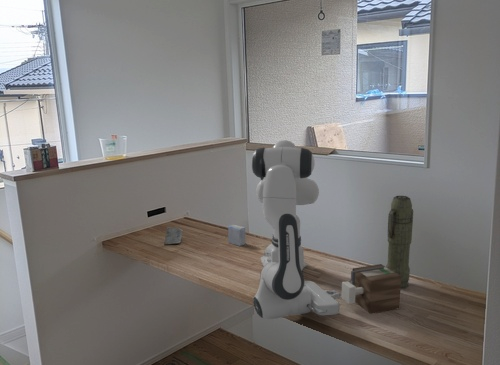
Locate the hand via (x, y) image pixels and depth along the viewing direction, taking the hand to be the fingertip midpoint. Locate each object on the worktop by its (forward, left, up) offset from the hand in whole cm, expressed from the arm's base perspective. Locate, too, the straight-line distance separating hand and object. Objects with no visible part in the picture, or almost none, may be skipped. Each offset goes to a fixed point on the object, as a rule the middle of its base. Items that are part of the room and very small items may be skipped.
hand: (337, 294), depth 165 cm
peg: (0, +11, -3) cm, 12 cm away
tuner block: (0, +15, -6) cm, 16 cm away
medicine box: (-80, -11, -6) cm, 81 cm away
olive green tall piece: (-12, +33, -6) cm, 36 cm away
